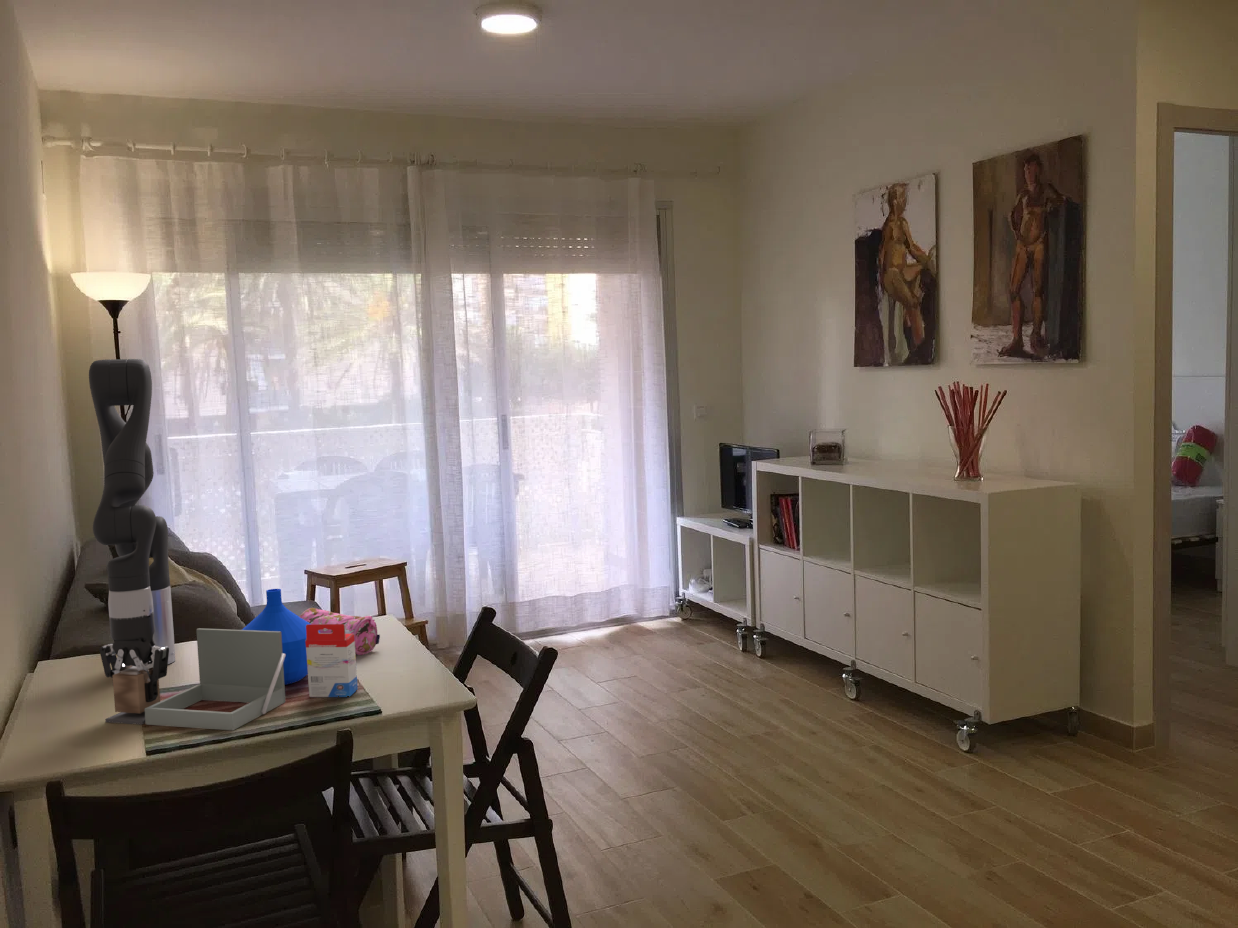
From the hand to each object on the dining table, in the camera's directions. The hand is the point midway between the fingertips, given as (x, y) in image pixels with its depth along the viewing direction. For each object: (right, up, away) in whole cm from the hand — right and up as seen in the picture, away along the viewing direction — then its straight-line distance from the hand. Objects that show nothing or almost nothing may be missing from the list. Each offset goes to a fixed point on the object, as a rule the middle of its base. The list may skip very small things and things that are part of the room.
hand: (137, 699), depth 193 cm
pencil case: (+25, +1, +46) cm, 53 cm away
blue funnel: (+19, -1, +22) cm, 29 cm away
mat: (0, -3, 0) cm, 3 cm away
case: (+15, -3, 0) cm, 15 cm away
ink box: (+34, -1, +11) cm, 36 cm away
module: (0, -2, 0) cm, 2 cm away
